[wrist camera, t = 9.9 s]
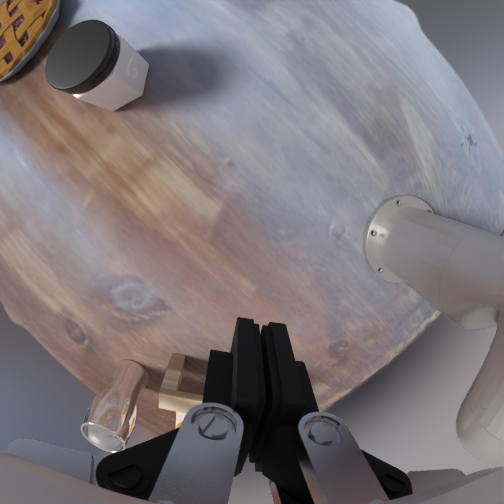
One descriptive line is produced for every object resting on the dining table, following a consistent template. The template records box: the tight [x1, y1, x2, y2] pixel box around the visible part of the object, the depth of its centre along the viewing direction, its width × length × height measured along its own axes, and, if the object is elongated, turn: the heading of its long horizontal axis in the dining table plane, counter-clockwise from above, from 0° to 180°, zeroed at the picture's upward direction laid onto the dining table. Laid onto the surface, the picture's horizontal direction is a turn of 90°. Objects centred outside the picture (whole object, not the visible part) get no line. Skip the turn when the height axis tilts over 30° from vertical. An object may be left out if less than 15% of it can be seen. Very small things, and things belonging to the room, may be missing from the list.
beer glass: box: [81, 360, 149, 453], centre depth 35 cm, size 7×7×15 cm
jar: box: [45, 20, 149, 112], centre depth 24 cm, size 9×8×12 cm
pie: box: [0, 0, 61, 82], centre depth 23 cm, size 22×22×5 cm
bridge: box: [159, 353, 203, 414], centre depth 38 cm, size 3×14×9 cm, turn 79°
